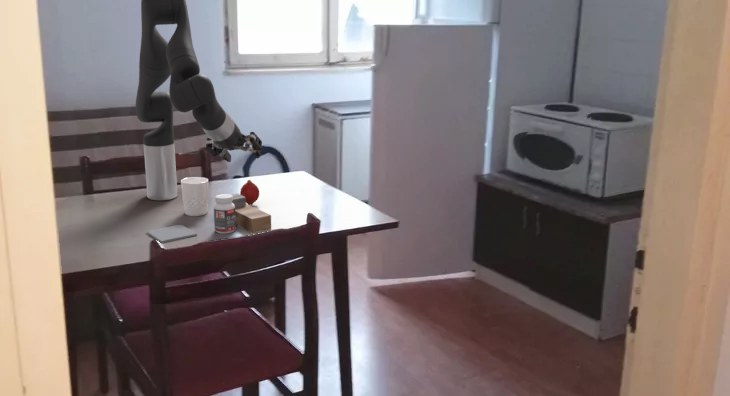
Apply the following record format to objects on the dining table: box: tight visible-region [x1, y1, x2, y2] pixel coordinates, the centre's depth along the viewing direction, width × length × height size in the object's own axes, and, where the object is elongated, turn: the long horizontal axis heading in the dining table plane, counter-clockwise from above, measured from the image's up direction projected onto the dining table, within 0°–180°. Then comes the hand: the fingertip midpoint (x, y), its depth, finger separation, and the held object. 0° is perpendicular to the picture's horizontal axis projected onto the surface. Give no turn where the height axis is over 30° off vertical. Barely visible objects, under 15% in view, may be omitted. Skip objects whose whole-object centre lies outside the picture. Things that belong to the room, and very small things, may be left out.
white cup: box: [180, 176, 209, 217], centre depth 218 cm, size 8×8×10 cm
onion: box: [239, 179, 260, 206], centre depth 227 cm, size 6×6×8 cm
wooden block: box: [230, 193, 272, 234], centre depth 211 cm, size 20×6×6 cm, turn 38°
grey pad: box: [146, 224, 198, 244], centre depth 200 cm, size 10×10×1 cm
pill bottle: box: [213, 193, 237, 235], centre depth 202 cm, size 6×6×10 cm
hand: (244, 157), depth 206 cm, fingers open, 8 cm apart
